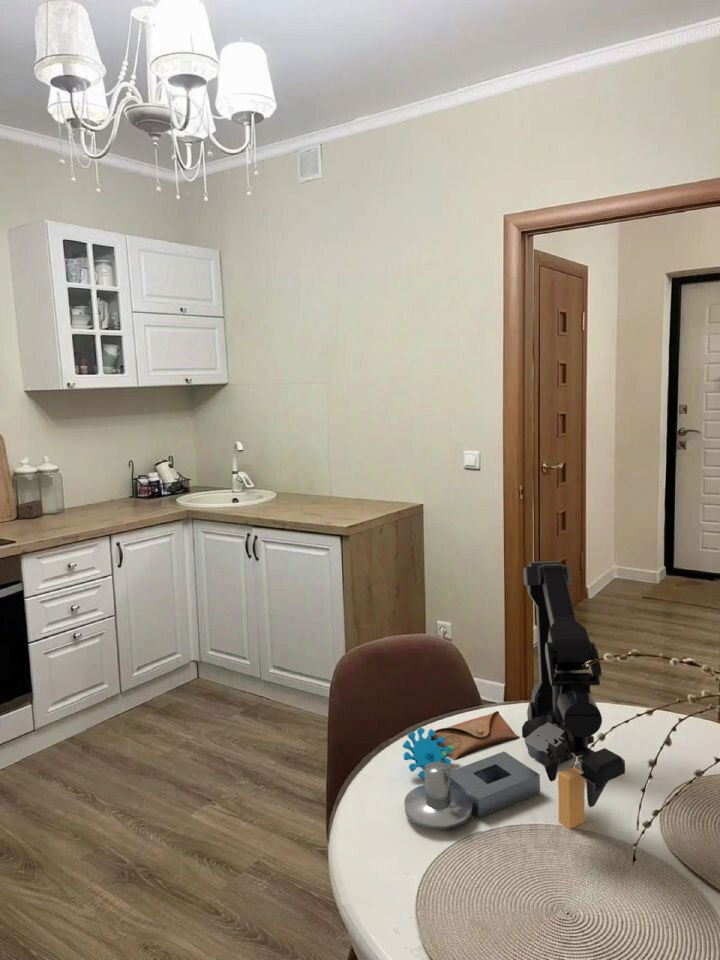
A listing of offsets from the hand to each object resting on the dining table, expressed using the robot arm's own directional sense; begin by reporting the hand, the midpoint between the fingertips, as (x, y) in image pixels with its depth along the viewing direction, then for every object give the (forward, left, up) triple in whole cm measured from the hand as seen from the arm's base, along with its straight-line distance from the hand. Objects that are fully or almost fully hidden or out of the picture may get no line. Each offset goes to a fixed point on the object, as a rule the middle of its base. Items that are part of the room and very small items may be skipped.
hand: (571, 793), depth 127 cm
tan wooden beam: (0, 0, -5) cm, 5 cm away
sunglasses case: (-3, -31, -6) cm, 32 cm away
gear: (+11, -27, -6) cm, 30 cm away
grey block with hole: (+12, -14, -5) cm, 19 cm away
